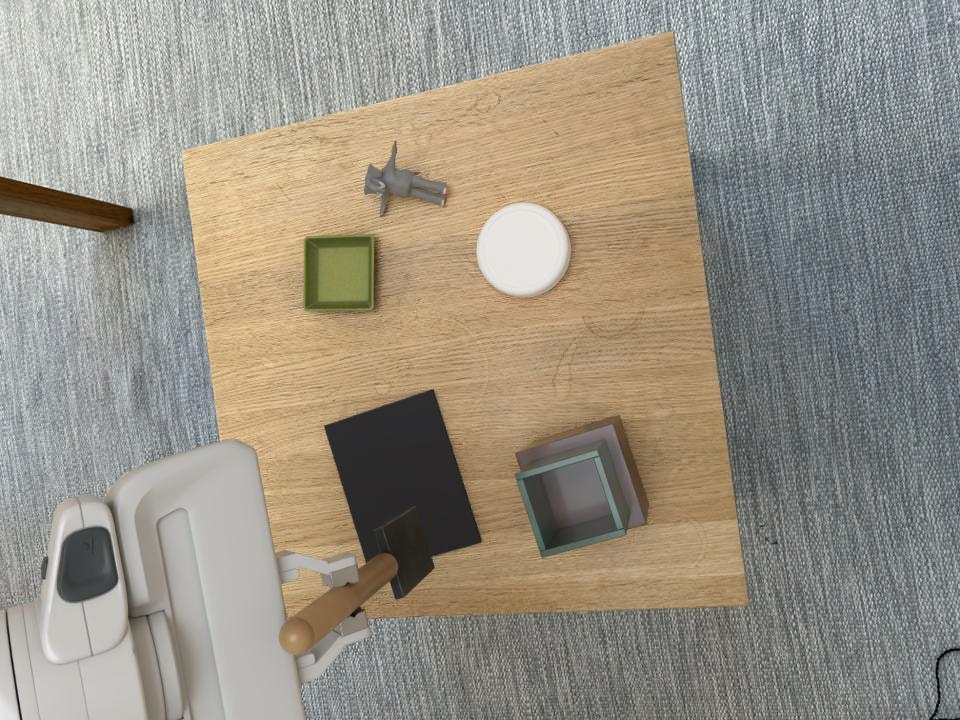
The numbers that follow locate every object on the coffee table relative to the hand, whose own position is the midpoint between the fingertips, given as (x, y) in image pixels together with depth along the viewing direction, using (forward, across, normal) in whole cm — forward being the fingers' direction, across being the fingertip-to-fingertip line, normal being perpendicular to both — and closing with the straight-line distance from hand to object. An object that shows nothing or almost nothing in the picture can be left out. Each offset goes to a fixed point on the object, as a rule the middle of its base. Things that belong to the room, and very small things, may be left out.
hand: (359, 592), depth 44 cm
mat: (+21, +1, +39) cm, 44 cm away
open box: (+37, -1, +24) cm, 44 cm away
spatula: (+9, 0, +10) cm, 13 cm away
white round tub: (+35, +24, +26) cm, 50 cm away
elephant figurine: (+27, +34, +34) cm, 55 cm away
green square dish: (+20, +26, +41) cm, 52 cm away
